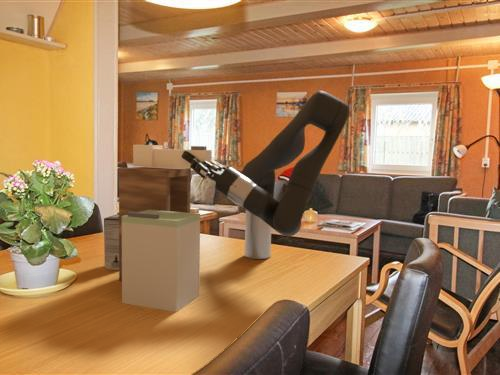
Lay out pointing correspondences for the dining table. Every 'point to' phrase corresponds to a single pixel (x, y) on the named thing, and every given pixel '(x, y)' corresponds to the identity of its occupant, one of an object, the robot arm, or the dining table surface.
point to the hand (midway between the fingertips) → (187, 153)
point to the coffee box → (111, 242)
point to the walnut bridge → (152, 192)
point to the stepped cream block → (167, 156)
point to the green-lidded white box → (160, 259)
